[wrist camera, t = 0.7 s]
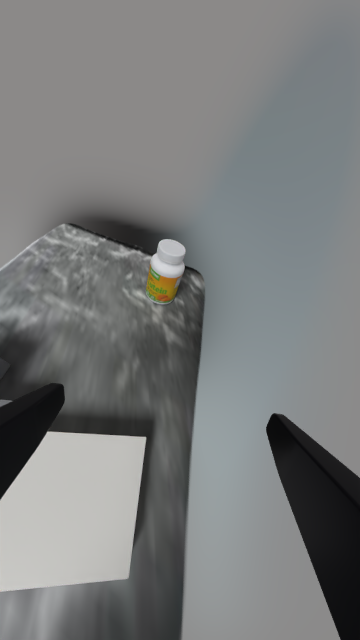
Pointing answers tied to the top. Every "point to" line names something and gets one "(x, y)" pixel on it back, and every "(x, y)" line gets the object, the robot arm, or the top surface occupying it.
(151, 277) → the supplement bottle
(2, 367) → the dock
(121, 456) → the white flat block
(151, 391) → the top surface
